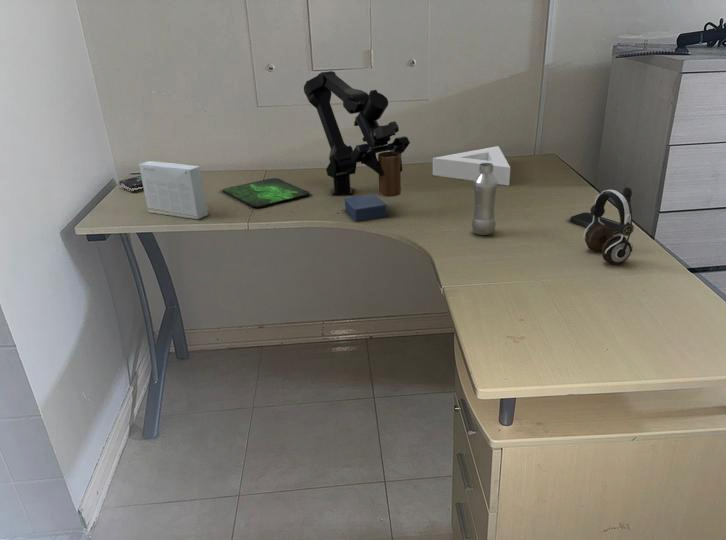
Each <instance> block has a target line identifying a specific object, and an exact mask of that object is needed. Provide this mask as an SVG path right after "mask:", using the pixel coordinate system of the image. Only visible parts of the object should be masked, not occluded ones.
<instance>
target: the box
mask: <svg viewBox="0 0 726 540" xmlns="http://www.w3.org/2000/svg"><path fill="white" fill-rule="evenodd" d="M343 201H344V210H345V212H346V213H347V214H348V215H349V216H350V217H351V218H352V219H353V220H354V221H355V222H361V221H368V220H374V219H375V220H376V219H381V218H386V217H387V207H388V204H387V203H386V202H385V201H384V200H382V199H381V198H380V197H379V196H377V195H376V194H373V193H372V194H366V195H359V196H352V197H346V198H345V197H344V198H343Z"/></svg>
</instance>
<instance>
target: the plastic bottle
mask: <svg viewBox="0 0 726 540" xmlns="http://www.w3.org/2000/svg"><path fill="white" fill-rule="evenodd" d="M479 172H480V173H479V175H478V176H477V177H476V178H475V180H474V181H473V182H472V184H473V194H474V211H473V216H472V221H471V229H472V231H473V232H474V234H476V235H480V236H488V235H492V234H493V233H494V232H495V230H496V226H497V225H496V218H495V200H496V194H497V189H498V184H497V180H496V178H495V177H494V175H493V174H492V172H493V164H492V163H481V164H480V167H479Z"/></svg>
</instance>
